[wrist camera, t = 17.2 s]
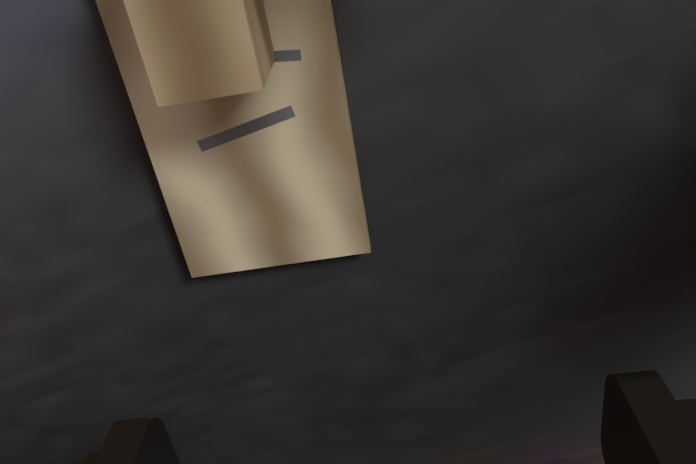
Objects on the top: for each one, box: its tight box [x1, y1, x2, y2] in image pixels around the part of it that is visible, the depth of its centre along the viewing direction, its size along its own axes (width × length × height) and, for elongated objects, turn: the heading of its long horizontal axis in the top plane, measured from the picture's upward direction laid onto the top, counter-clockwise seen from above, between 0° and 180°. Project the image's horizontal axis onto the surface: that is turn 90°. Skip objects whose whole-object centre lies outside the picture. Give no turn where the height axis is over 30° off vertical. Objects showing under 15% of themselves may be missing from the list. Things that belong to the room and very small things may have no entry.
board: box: [95, 0, 371, 278], centre depth 34 cm, size 12×25×2 cm, turn 9°
